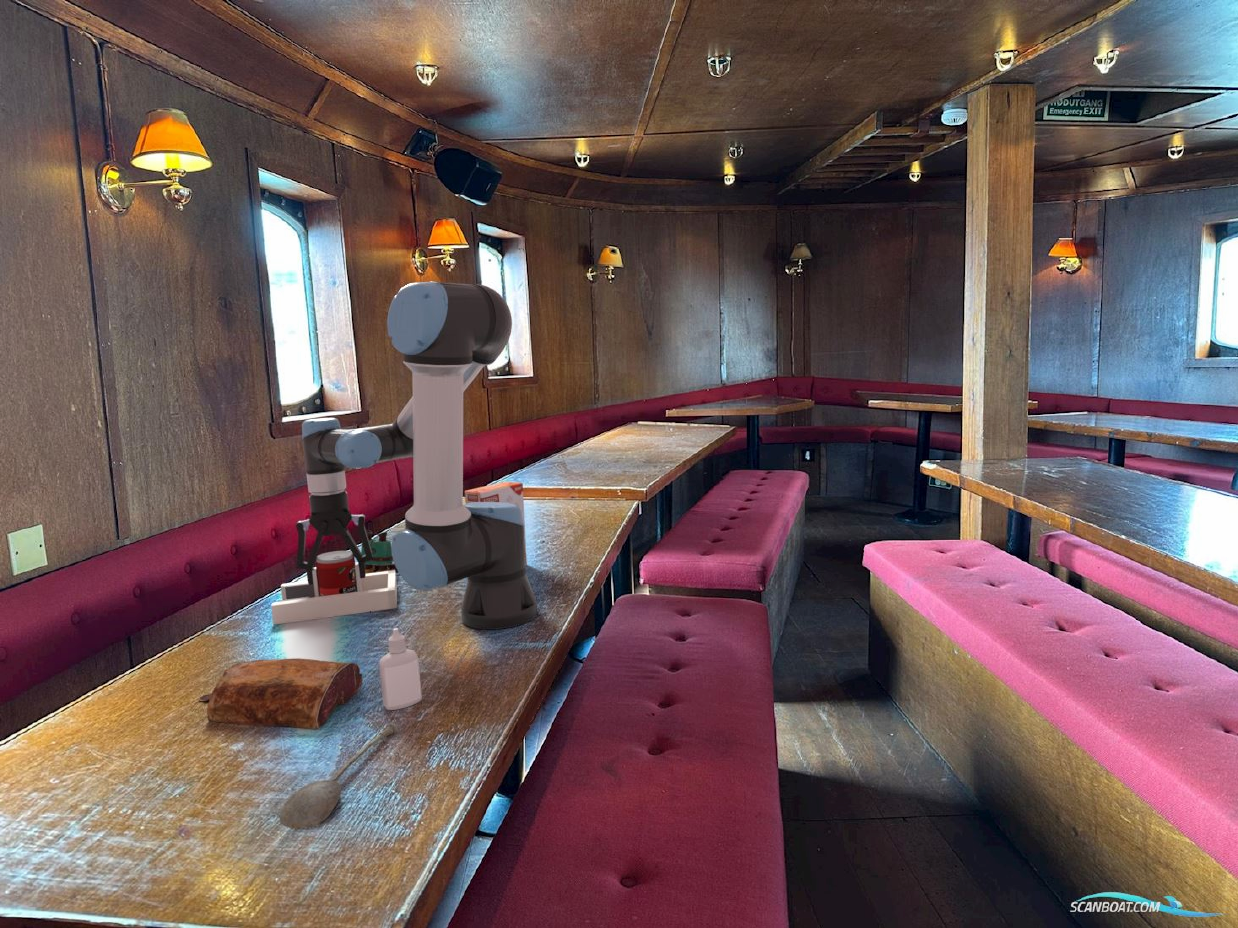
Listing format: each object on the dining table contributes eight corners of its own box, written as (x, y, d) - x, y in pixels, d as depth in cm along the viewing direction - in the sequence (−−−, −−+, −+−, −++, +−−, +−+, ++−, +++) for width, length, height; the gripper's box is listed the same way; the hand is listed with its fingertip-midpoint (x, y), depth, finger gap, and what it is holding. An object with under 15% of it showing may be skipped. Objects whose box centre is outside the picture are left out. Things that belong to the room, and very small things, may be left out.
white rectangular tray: (396, 607, 157) (395, 589, 156) (273, 624, 150) (270, 605, 149) (396, 586, 171) (395, 570, 170) (284, 601, 164) (282, 583, 164)
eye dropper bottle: (418, 709, 112) (411, 633, 110) (380, 711, 111) (372, 635, 109) (424, 695, 116) (417, 622, 114) (387, 698, 116) (380, 624, 114)
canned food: (347, 611, 156) (341, 560, 154) (312, 610, 157) (307, 560, 156) (366, 598, 163) (361, 550, 162) (333, 598, 165) (327, 550, 163)
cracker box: (487, 580, 172) (480, 492, 169) (469, 576, 176) (462, 490, 173) (529, 564, 183) (523, 481, 180) (511, 561, 187) (506, 480, 184)
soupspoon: (267, 834, 86) (317, 843, 84) (264, 808, 85) (314, 817, 83) (374, 730, 107) (415, 736, 105) (372, 709, 106) (413, 714, 104)
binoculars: (409, 527, 187) (383, 533, 177) (410, 569, 187) (384, 577, 178) (381, 525, 190) (353, 531, 181) (382, 566, 191) (354, 574, 181)
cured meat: (240, 672, 128) (235, 635, 127) (376, 676, 124) (372, 637, 123) (163, 728, 111) (156, 685, 110) (318, 734, 107) (312, 690, 106)
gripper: (379, 484, 163) (389, 583, 166) (277, 493, 157) (289, 596, 161) (378, 489, 156) (389, 594, 159) (271, 499, 150) (284, 607, 154)
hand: (339, 595), depth 160 cm, fingers closed on canned food, 8 cm apart
